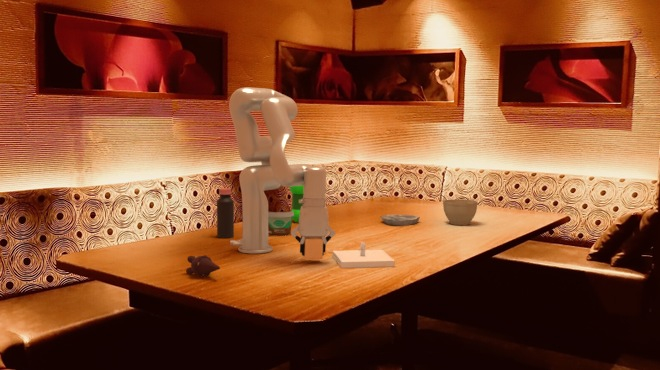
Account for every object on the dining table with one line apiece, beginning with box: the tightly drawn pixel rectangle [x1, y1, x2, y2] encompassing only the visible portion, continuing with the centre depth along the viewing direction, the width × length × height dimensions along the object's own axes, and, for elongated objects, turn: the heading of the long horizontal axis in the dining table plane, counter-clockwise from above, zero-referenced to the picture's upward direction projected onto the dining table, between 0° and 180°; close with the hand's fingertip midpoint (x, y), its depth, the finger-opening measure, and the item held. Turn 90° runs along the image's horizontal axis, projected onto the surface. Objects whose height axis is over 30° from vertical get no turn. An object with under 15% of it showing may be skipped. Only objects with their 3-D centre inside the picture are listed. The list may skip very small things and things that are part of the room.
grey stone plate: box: [380, 214, 421, 227], centre depth 303 cm, size 20×17×3 cm
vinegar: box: [216, 187, 235, 239], centre depth 262 cm, size 7×7×20 cm
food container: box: [268, 210, 294, 237], centre depth 269 cm, size 12×6×10 cm, turn 105°
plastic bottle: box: [288, 185, 304, 224], centre depth 301 cm, size 10×10×25 cm
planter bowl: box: [442, 198, 479, 226], centre depth 301 cm, size 16×16×11 cm
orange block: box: [302, 237, 323, 261], centre depth 219 cm, size 6×6×7 cm
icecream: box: [185, 254, 221, 278], centre depth 199 cm, size 7×7×15 cm
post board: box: [332, 241, 396, 269], centre depth 222 cm, size 18×18×6 cm
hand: (312, 254), depth 219 cm, fingers closed on orange block, 5 cm apart
